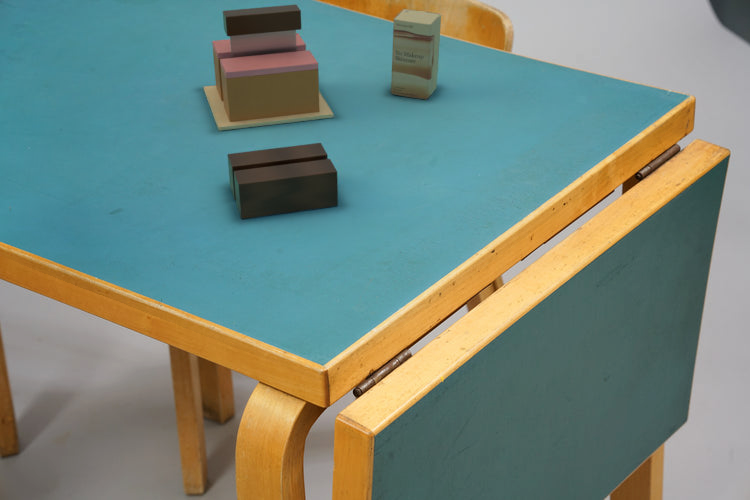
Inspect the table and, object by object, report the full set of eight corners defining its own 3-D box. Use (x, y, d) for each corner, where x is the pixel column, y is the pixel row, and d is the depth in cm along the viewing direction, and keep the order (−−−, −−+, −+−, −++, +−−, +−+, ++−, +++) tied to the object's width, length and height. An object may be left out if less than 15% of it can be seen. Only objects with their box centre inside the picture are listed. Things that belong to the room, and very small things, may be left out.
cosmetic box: (389, 95, 125) (390, 18, 120) (400, 83, 129) (402, 7, 124) (428, 100, 124) (431, 23, 119) (438, 88, 127) (441, 12, 122)
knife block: (241, 219, 98) (238, 184, 96) (230, 187, 104) (227, 153, 102) (338, 206, 101) (337, 171, 99) (321, 175, 106) (320, 142, 104)
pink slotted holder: (218, 131, 116) (214, 76, 112) (203, 89, 127) (198, 39, 123) (333, 117, 119) (332, 64, 116) (309, 78, 130) (307, 29, 126)
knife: (232, 107, 121) (225, 16, 115) (229, 99, 123) (222, 10, 117) (304, 99, 123) (300, 10, 117) (300, 92, 125) (296, 4, 119)
